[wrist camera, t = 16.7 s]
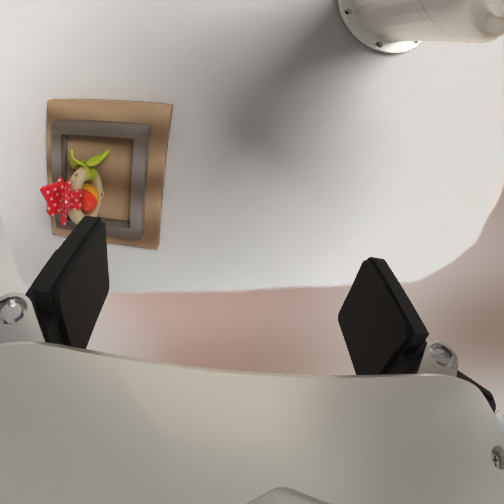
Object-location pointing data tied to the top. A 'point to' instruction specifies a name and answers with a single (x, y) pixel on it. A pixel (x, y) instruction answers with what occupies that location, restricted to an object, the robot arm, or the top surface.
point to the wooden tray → (114, 161)
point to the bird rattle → (76, 191)
